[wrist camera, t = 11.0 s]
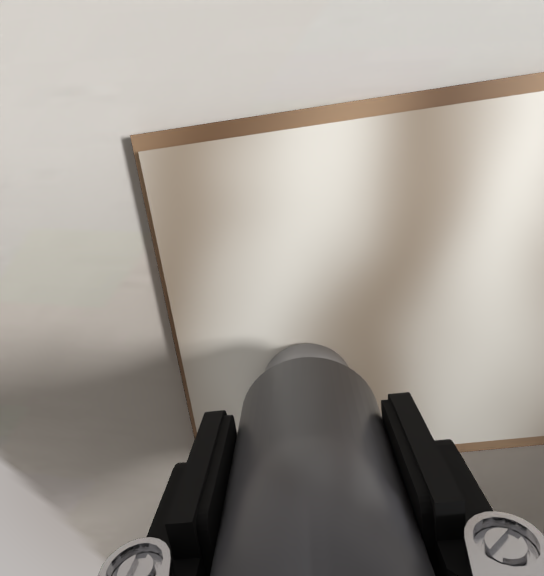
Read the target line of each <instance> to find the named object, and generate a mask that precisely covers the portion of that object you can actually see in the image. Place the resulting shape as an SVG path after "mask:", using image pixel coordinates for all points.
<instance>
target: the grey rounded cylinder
mask: <svg viewBox="0 0 544 576" xmlns="http://www.w3.org/2000/svg"><path fill="white" fill-rule="evenodd" d="M210 576H435V574H434V571H433V568H432V565H431V562H430V559H429V556H428V553H427V550H426V547H425V544H424V542H423V539H422V536H421V533H420V530H419V527H418V524H417V521H416V518H415V515H414V512H413V509H412V506H411V503H410V500H409V497H408V494H407V491H406V488H405V485H404V482H403V479H402V476H401V473H400V470H399V467H398V464H397V462H396V459H395V456H394V453H393V450H392V447H391V444H390V441H389V438H388V435H387V432H386V429H385V426H384V423H383V420H382V416H381V413H380V410H379V407H378V404H377V401H376V398H375V396H374V394H373V392H372V390H371V388H370V387H369V385H368V384H367V382H366V381H365V380H364V379H363V378H362V377H361V376H360V375H359V374H357V373H356V372H355V371H354V370H352V369H350V368H349V367H348V365H347V363H346V362H345V361H344V359H343V358H342V357H341V356H340V355H339V354H337V353H336V352H335V351H333V350H332V349H330V348H327V347H325V346H322V345H318V344H310V343H305V344H297V345H293V346H290V347H288V348H286V349H284V350H282V351H280V352H279V353H278V354H277V355H275V356H274V357H273V358H272V360H271V361H270V362H269V364H268V365H267V367H266V370H265V372H264V373H263V374H261V375H260V376H259V377H258V378H257V379H256V380H255V381H254V383H253V384H252V386H251V387H250V388H249V390H248V392H247V394H246V396H245V399H244V402H243V407H242V412H241V417H240V422H239V427H238V433H237V438H236V443H235V448H234V453H233V458H232V464H231V469H230V474H229V479H228V484H227V490H226V495H225V500H224V505H223V510H222V516H221V521H220V526H219V531H218V536H217V542H216V547H215V552H214V557H213V562H212V568H211V573H210Z"/></svg>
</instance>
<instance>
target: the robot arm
mask: <svg viewBox="0 0 544 576" xmlns="http://www.w3.org/2000/svg"><path fill="white" fill-rule="evenodd" d="M381 411H382V420H383V423H384V426H385V429H386V432H387V435H388V438H389V441H390V444H391V447H392V450H393V453H394V456H395V459H396V462H397V464H398V467H399V470H400V473H401V476H402V479H403V482H404V485H405V488H406V491H407V494H408V497H409V500H410V503H411V506H412V509H413V512H414V515H415V518H416V521H417V524H418V527H419V530H420V533H421V536H422V539H423V542H424V544H425V547H426V550H427V553H428V556H429V559H430V562H431V565H432V568H433V571H434V574H435V576H544V535H543V534H542V533H541V532H540V531H539V530H538V529H537V528H536V527H535V526H534V525H533V524H531V523H529V522H528V521H526V520H524V519H522V518H521V517H518V516H515V515H512V514H510V513H505V512H498V511H493V510H492V508H491V506H490V505H489V503H488V501H487V499H486V498H485V496H484V494H483V493H482V491H481V489H480V487H479V486H478V484H477V482H476V480H475V479H474V477H473V475H472V473H471V472H470V470H469V468H468V467H467V465H466V463H465V461H464V460H463V458H462V456H461V454H460V453H459V451H458V449H457V447H456V446H455V444H454V443H453V441H452V440H450V439H445V440H434V439H433V437H432V435H431V433H430V431H429V429H428V427H427V425H426V423H425V421H424V419H423V417H422V415H421V413H420V412H419V410H418V408H417V406H416V404H415V402H414V400H413V398H412V396H411V394H410V392H404V393H393V394H388V400H381ZM236 438H237V431H236V425H235V420H234V416H233V415H227V413H226V411H225V410H220V411H210V412H205V413H204V415H203V418H202V421H201V424H200V426H199V429H198V432H197V435H196V438H195V441H194V443H193V446H192V449H191V452H190V455H189V457H188V460H187V462H186V463H177V464H176V465H175V467H174V468H173V471H172V473H171V476H170V478H169V481H168V484H167V486H166V489H165V491H164V494H163V496H162V499H161V501H160V504H159V507H158V509H157V512H156V514H155V517H154V519H153V522H152V524H151V527H150V530H149V532H148V535H147V537H146V538H139V539H136V540H133V541H130V542H128V543H126V544H124V545H123V546H121V547H119V548H118V549H117V550H116V551H114V552H113V553H112V554H111V555H110V556H109V557H108V558H107V560H106V561H105V562H104V563H103V565H102V567H101V569H100V572H99V574H98V576H210V573H211V568H212V562H213V557H214V552H215V547H216V542H217V536H218V531H219V526H220V521H221V516H222V510H223V505H224V500H225V495H226V490H227V484H228V479H229V474H230V469H231V464H232V458H233V453H234V448H235V443H236Z"/></svg>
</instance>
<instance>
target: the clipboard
mask: <svg viewBox="0 0 544 576" xmlns="http://www.w3.org/2000/svg"><path fill="white" fill-rule="evenodd" d="M130 137H131V142H132V147H133V151H134V156H135V161H136V165H137V170H138V175H139V180H140V184H141V189H142V194H143V198H144V203H145V208H146V213H147V217H148V222H149V227H150V231H151V236H152V241H153V245H154V250H155V255H156V260H157V264H158V269H159V274H160V278H161V283H162V288H163V293H164V297H165V302H166V307H167V311H168V316H169V321H170V325H171V330H172V335H173V340H174V344H175V349H176V354H177V358H178V363H179V368H180V372H181V377H182V382H183V387H184V391H185V396H186V401H187V405H188V410H189V415H190V420H191V424H192V429H193V434H194V438H196V435H197V432H198V429H199V426H200V424H201V421H202V418H203V415H204V413H205V412H210V411H220V410H225V411H226V413H227V415H233V416H234V420H235V425H236V431H237V433H238V427H239V422H240V417H241V412H242V407H243V402H244V399H245V396H246V394H247V392H248V390H249V388H250V387H251V386H252V384H253V383H254V381H255V380H256V379H257V378H258V377H259V376H260V375H261V374H263V373H264V372H265V370H266V367H267V365H268V364H269V362H270V361H271V360H272V358H273V357H274V356H275V355H277V354H278V353H279V352H280V351H282V350H284V349H286V348H288V347H290V346H293V345H297V344H305V343H310V344H318V345H322V346H325V347H327V348H330V349H332V350H333V351H335V352H336V353H337V354H339V355H340V356H341V357H342V358H343V359H344V361H345V362H346V363H347V365H348V367H349V368H350V369H352V370H354V371H355V372H356V373H357V374H359V375H360V376H361V377H362V378H363V379H364V380H365V381H366V382H367V384H368V385H369V387H370V388H371V390H372V392H373V394H374V396H375V398H376V401H377V404H378V407H379V410H380V413H381V416H382V411H381V400H388V394H393V393H404V392H410V394H411V396H412V398H413V400H414V402H415V404H416V406H417V408H418V410H419V412H420V413H421V415H422V417H423V419H424V421H425V423H426V425H427V427H428V429H429V431H430V433H431V435H432V437H433V439H434V440H445V439H450V440H452V441H453V443H454V444H455V446H456V447H457V449H458V451H459V452H469V451H480V450H491V449H501V448H512V447H523V446H534V445H544V72H541V73H535V74H528V75H522V76H515V77H509V78H502V79H496V80H489V81H483V82H476V83H469V84H463V85H456V86H450V87H443V88H437V89H430V90H424V91H417V92H411V93H404V94H398V95H391V96H385V97H378V98H372V99H365V100H359V101H352V102H345V103H339V104H332V105H326V106H319V107H313V108H306V109H300V110H293V111H287V112H280V113H274V114H267V115H261V116H254V117H248V118H241V119H235V120H228V121H221V122H215V123H208V124H202V125H195V126H189V127H182V128H176V129H169V130H163V131H156V132H150V133H143V134H137V135H130Z"/></svg>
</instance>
